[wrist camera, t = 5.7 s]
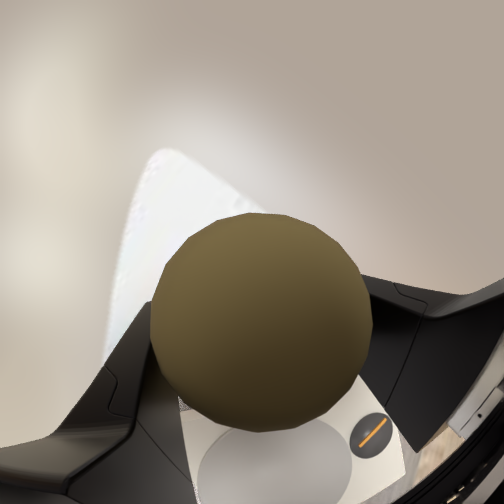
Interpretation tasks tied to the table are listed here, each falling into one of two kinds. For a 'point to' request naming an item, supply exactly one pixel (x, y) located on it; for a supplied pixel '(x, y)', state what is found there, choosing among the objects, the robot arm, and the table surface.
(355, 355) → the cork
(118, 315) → the table surface
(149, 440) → the robot arm
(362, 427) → the kitchen scale
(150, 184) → the table surface
